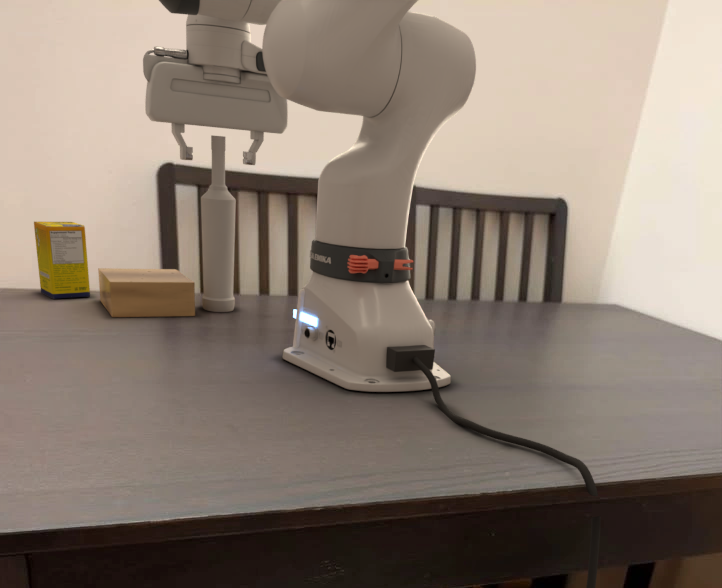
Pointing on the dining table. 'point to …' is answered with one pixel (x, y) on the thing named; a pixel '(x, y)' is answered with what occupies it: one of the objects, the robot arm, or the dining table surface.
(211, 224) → the bottle
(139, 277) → the block
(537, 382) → the dining table surface
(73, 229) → the supplement box
